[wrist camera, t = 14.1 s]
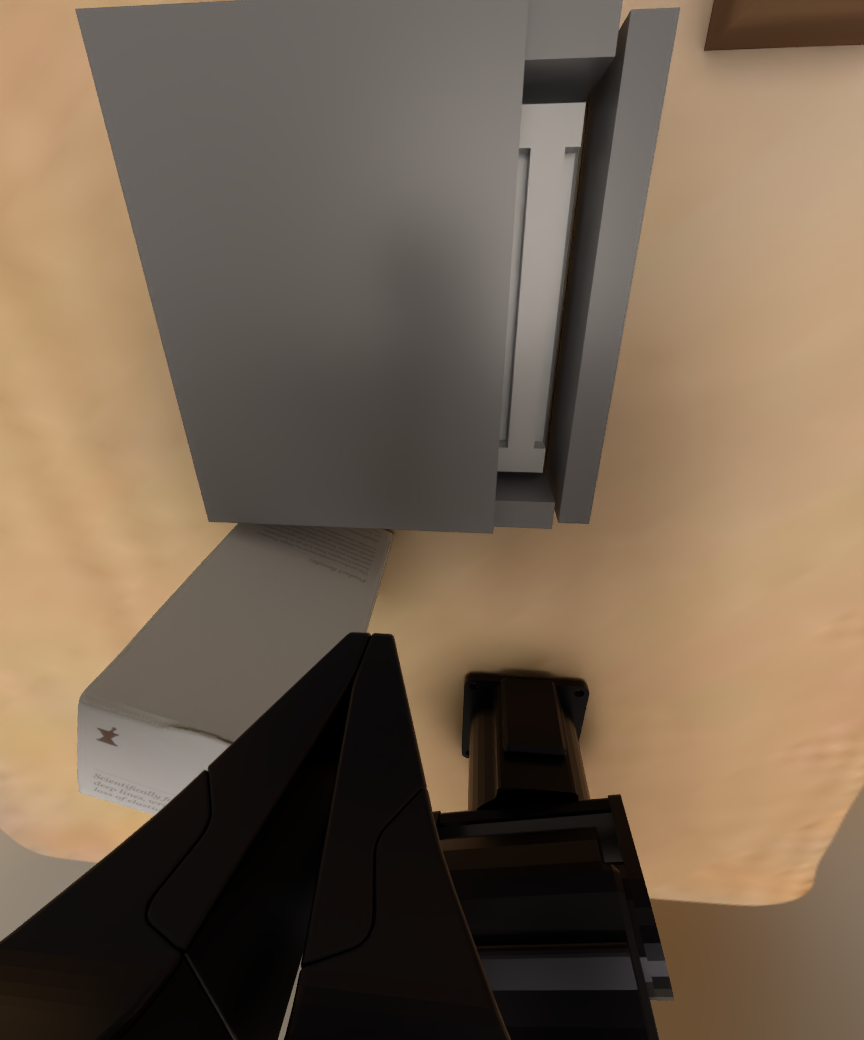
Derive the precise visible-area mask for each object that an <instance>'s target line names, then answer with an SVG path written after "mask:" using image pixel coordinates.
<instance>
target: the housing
mask: <svg viewBox="0 0 864 1040" xmlns="http://www.w3.org/2000/svg"><path fill="white" fill-rule="evenodd" d="M622 1H623V0H237V1H218V2H199V3H179V4H160V5H141V6H122V7H103V8H83V9H75V10H76V14H77V18H78V22H79V25H80V29H81V33H82V37H83V41H84V45H85V48H86V52H87V56H88V60H89V64H90V68H91V71H92V75H93V79H94V83H95V87H96V91H97V95H98V98H99V102H100V106H101V110H102V114H103V118H104V121H105V125H106V129H107V133H108V137H109V141H110V144H111V148H112V152H113V156H114V160H115V164H116V167H117V171H118V175H119V179H120V183H121V187H122V190H123V194H124V198H125V202H126V206H127V210H128V214H129V217H130V221H131V225H132V229H133V233H134V237H135V240H136V244H137V248H138V252H139V256H140V260H141V263H142V267H143V271H144V275H145V279H146V283H147V286H148V290H149V294H150V298H151V302H152V306H153V310H154V313H155V317H156V321H157V325H158V329H159V333H160V336H161V340H162V344H163V348H164V352H165V356H166V359H167V363H168V367H169V371H170V375H171V379H172V382H173V386H174V390H175V394H176V398H177V402H178V405H179V409H180V413H181V417H182V421H183V425H184V429H185V432H186V436H187V440H188V444H189V448H190V452H191V455H192V459H193V463H194V467H195V471H196V475H197V478H198V482H199V486H200V490H201V494H202V498H203V501H204V505H205V509H206V513H207V517H208V521H209V522H229V523H252V524H276V525H300V526H324V527H348V528H371V529H395V530H419V531H443V532H467V533H490V534H493V528H494V526H495V527H519V528H544V529H552V522H553V514H554V507H555V501H554V498H553V494H552V491H551V488H550V485H549V482H548V479H547V475H546V472H545V469H544V466H543V473H537V472H505V471H497V468H498V453H499V438H500V423H501V409H502V394H503V379H504V364H505V349H506V334H507V319H508V304H509V289H510V274H511V260H512V245H513V230H514V215H515V200H516V185H517V170H518V155H519V140H520V125H521V111H522V104H553V103H585V102H586V101H587V99H588V98H589V96H590V95H591V93H592V92H593V90H594V89H595V87H596V85H597V84H598V82H599V81H600V79H601V78H602V76H603V74H604V73H605V71H606V70H607V68H608V67H609V65H610V64H611V62H612V60H613V59H614V57H615V53H616V46H617V38H618V31H619V23H620V16H621V8H622ZM579 152H580V148H579V149H578V151H577V152H576V153H575V161H574V170H573V179H572V188H571V196H570V205H569V214H568V223H567V232H566V241H565V250H564V258H563V267H562V276H561V285H560V294H559V303H558V312H557V320H556V329H555V338H554V347H553V356H552V365H551V374H550V382H549V391H548V400H547V409H546V418H545V427H544V436H543V443H544V446H545V444H546V436H547V427H548V419H549V410H550V401H551V393H552V384H553V376H554V367H555V358H556V350H557V341H558V332H559V324H560V315H561V307H562V298H563V289H564V281H565V272H566V264H567V255H568V246H569V238H570V229H571V220H572V212H573V203H574V195H575V186H576V177H577V169H578V160H579Z"/></svg>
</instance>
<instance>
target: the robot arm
mask: <svg viewBox="0 0 864 1040" xmlns="http://www.w3.org/2000/svg"><path fill="white" fill-rule="evenodd" d="M472 683H476V684H472ZM577 690H580V691H577ZM588 697H589V690H588V686H587V684H586V683H584V682H582V681H574V680H559V679H544V678H529V677H514V676H499V675H484V674H470V675H467V676H466V677H465V681H464V706H463V730H462V755H463V756H464V757H466V758H469V788H468V811H460V812H449V813H441V812H440V811H435V812H432V807H431V803H430V798H429V794H428V791H427V786H426V781H425V776H424V772H423V767H422V763H421V758H420V753H419V749H418V744H417V740H416V735H415V731H414V726H413V721H412V717H411V712H410V708H409V703H408V699H407V694H406V689H405V685H404V680H403V676H402V671H401V667H400V662H399V657H398V653H397V648H396V644H395V639H394V636H393V635H392V634H380V633H374V634H373V635H372V636H371V634H369V633H363V632H350V633H348V634H347V635H346V636H345V637H344V638H343V639H342V640H341V641H340V642H338V643H337V644H336V645H335V646H334V647H333V648H332V649H331V650H330V651H329V652H328V653H327V654H326V655H325V656H324V657H323V658H322V659H321V660H319V661H318V662H317V663H316V664H315V665H314V666H313V667H312V668H311V669H310V670H309V671H308V672H307V673H306V674H305V675H304V676H303V677H302V678H300V679H299V680H298V681H297V682H296V683H295V684H294V685H293V686H292V687H291V688H290V689H289V690H288V691H287V692H286V693H285V694H284V695H283V696H282V697H280V698H279V699H278V700H277V701H276V702H275V703H274V704H273V705H272V706H271V707H270V708H269V709H268V710H267V711H266V712H265V713H264V714H263V715H261V716H260V717H259V718H258V719H257V720H256V721H255V722H254V723H253V724H252V725H251V726H250V727H249V728H248V729H247V730H246V731H245V732H244V733H242V734H241V735H240V736H239V737H238V738H237V739H236V740H235V741H234V742H233V743H232V744H231V745H230V746H229V747H228V748H227V749H226V750H225V751H223V752H222V753H221V754H220V755H219V756H218V757H217V758H216V759H215V760H214V761H213V762H212V763H211V764H210V765H209V766H208V771H207V770H203V771H202V772H201V773H200V774H199V775H198V776H197V777H196V778H195V779H194V780H193V781H192V782H191V783H189V784H188V785H187V786H186V787H185V788H184V789H183V790H182V791H181V792H180V793H179V794H178V795H176V796H175V797H174V798H173V799H172V800H171V801H170V802H169V803H168V804H167V805H165V806H164V807H163V808H162V809H161V810H160V811H159V812H158V813H157V814H156V815H154V816H153V817H152V818H151V819H150V820H149V821H148V822H146V823H145V824H144V825H143V826H142V827H140V828H139V829H138V830H137V831H136V832H134V833H133V834H132V835H131V836H130V837H129V838H127V839H126V840H125V841H124V842H123V843H121V844H120V845H119V846H118V847H117V848H115V849H114V850H113V851H112V852H111V853H109V854H108V855H107V856H106V857H104V858H103V859H102V860H101V861H100V862H98V863H97V864H96V865H95V866H93V867H92V868H91V869H90V870H89V871H87V872H86V873H85V874H84V875H82V876H81V877H80V878H79V879H77V880H76V881H75V882H74V883H72V884H71V885H70V886H69V887H68V888H66V889H65V890H64V891H63V892H61V893H60V894H59V895H58V896H56V897H55V898H54V899H53V900H52V901H50V902H49V903H48V904H47V905H45V906H44V907H43V908H42V909H40V910H39V911H38V912H37V913H35V914H34V915H33V916H32V917H31V918H30V919H28V920H27V921H26V922H24V923H23V924H22V925H21V926H19V927H18V928H17V929H16V930H15V931H13V932H12V933H11V934H9V935H8V936H7V937H5V938H4V939H3V940H2V941H0V1040H278V1037H279V1033H280V1030H281V1026H282V1023H283V1020H284V1016H285V1013H286V1009H287V1006H288V1002H289V999H290V996H291V992H292V989H293V985H294V982H295V978H296V975H297V971H298V968H299V965H300V961H301V958H302V961H301V968H302V969H301V971H300V973H299V978H298V983H297V988H296V994H295V998H294V1002H293V1007H292V1011H291V1015H290V1019H289V1023H288V1027H287V1031H286V1035H285V1038H284V1040H659V1036H658V1032H657V1028H656V1023H655V1019H654V1015H653V1010H652V1006H651V1001H650V1000H657V1001H662V1000H663V1001H664V1000H665V1001H666V1000H667V1001H669V1000H670V1001H674V997H673V992H672V987H671V983H670V979H669V975H668V971H667V966H666V962H665V958H664V954H663V950H662V946H661V942H660V938H659V934H658V930H657V927H656V923H655V919H654V915H653V911H652V907H651V903H650V900H649V896H648V892H647V888H646V885H645V881H644V877H643V874H642V870H641V867H640V863H639V860H638V856H637V852H636V849H635V845H634V842H633V838H632V835H631V831H630V827H629V824H628V820H627V817H626V813H625V809H624V806H623V802H622V799H621V795H620V794H619V795H608V798H602V799H591V800H590V796H589V791H588V786H587V782H586V777H585V772H584V767H583V762H582V757H581V752H580V747H579V743H578V742H579V738H580V733H581V729H582V724H583V720H584V715H585V711H586V706H587V702H588ZM302 955H303V956H302Z"/></svg>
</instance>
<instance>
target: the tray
mask: <svg viewBox="0 0 864 1040" xmlns="http://www.w3.org/2000/svg"><path fill="white" fill-rule="evenodd" d="M679 11H680V8H658V9H637V10H631V11H630V13H629V14H628V16H627V18H626V19H625V21H624V23H623V25H622V26H621V28H620V30H619V31H618V38H617V46H616V53H615V57H614V59H613V60H612V62H611V64H610V65H609V67H608V68H607V70H606V71H605V73H604V74H603V76H602V78H601V79H600V81H599V82H598V84H597V85H596V87H595V89H594V90H593V92H592V93H591V95H590V98H589V106H588V114H587V123H586V131H585V140H584V148H583V157H582V165H581V173H580V182H579V190H578V199H577V207H576V215H575V224H574V232H573V241H572V249H571V257H570V266H569V274H568V283H567V291H566V299H565V308H564V316H563V325H562V333H561V341H560V350H559V358H558V367H557V375H556V383H555V392H554V400H553V409H552V417H551V425H550V434H549V442H548V451H547V459H546V467H545V472H546V475H547V479H548V482H549V485H550V488H551V491H552V494H553V498H554V501H555V507H554V509H555V513H556V516H557V519H558V523H578V524H589V521H590V515H591V509H592V504H593V498H594V492H595V487H596V481H597V475H598V470H599V464H600V458H601V453H602V447H603V441H604V436H605V430H606V424H607V419H608V413H609V407H610V402H611V396H612V390H613V385H614V379H615V373H616V368H617V362H618V356H619V351H620V345H621V339H622V334H623V328H624V322H625V317H626V311H627V305H628V300H629V294H630V288H631V283H632V277H633V272H634V266H635V260H636V255H637V249H638V243H639V238H640V232H641V226H642V221H643V215H644V209H645V204H646V198H647V192H648V187H649V181H650V175H651V170H652V164H653V158H654V153H655V147H656V141H657V136H658V130H659V124H660V119H661V113H662V107H663V102H664V96H665V90H666V85H667V79H668V73H669V68H670V62H671V56H672V51H673V45H674V39H675V34H676V28H677V22H678V17H679ZM585 106H586V102H585V103H553V104H522V111H521V125H520V140H519V155H518V170H517V185H516V200H515V215H514V230H513V245H512V260H511V274H510V289H509V304H508V319H507V334H506V349H505V364H504V379H503V394H502V409H501V423H500V438H499V453H498V468H497V471H505V472H537V473H543V466H544V457H545V446H544V443H543V436H544V427H545V418H546V409H547V400H548V391H549V382H550V374H551V365H552V356H553V347H554V338H555V329H556V320H557V312H558V303H559V294H560V285H561V276H562V267H563V258H564V250H565V241H566V232H567V223H568V214H569V205H570V196H571V188H572V179H573V170H574V161H575V153H576V152H577V151H578V149H579V148H580V147H581V140H582V131H583V123H584V114H585Z"/></svg>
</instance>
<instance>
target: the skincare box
mask: <svg viewBox="0 0 864 1040" xmlns="http://www.w3.org/2000/svg"><path fill="white" fill-rule="evenodd" d="M392 540H393V534H392V533H391V532H389V531H386V530H384V529H371V528H348V527H324V526H300V525H276V524H252V523H238V524H237V525H236V526H235V527H234V528H233V529H232V531H231V532H230V533H229V534H228V535H227V536H226V537H225V538H224V539H223V540H222V541H221V543H220V544H219V545H218V546H217V547H216V548H215V549H214V550H213V551H212V552H211V553H210V555H209V556H208V557H207V558H206V559H205V560H204V561H203V562H202V563H201V564H200V565H199V566H198V567H197V568H196V570H195V571H194V572H193V573H192V574H191V575H190V576H189V577H188V578H187V579H186V580H185V582H184V583H183V584H182V585H181V586H180V587H179V588H178V589H177V590H176V592H175V593H174V594H173V595H172V596H171V597H170V598H169V599H168V600H167V601H166V602H165V603H164V605H163V606H162V607H161V608H160V609H159V610H158V611H157V612H156V613H155V614H154V615H153V617H152V618H151V619H150V620H149V621H148V622H147V623H146V624H145V626H144V627H143V628H142V629H141V630H140V631H139V632H138V633H137V635H136V636H135V637H134V638H133V639H132V640H131V642H130V643H129V644H128V645H127V646H126V647H125V648H124V650H123V651H122V652H121V653H120V654H119V655H118V656H117V657H116V658H115V659H114V660H113V661H112V662H111V663H110V664H109V665H108V666H107V668H106V669H105V670H104V671H103V672H102V673H101V674H100V675H99V676H98V677H97V678H96V679H95V680H94V681H93V682H92V683H91V684H90V685H89V686H88V687H87V688H86V689H85V691H84V692H83V693H82V695H81V696H80V699H79V704H78V728H77V733H78V745H77V754H78V761H77V766H78V768H77V775H78V784H79V792H80V793H82V794H86V795H89V796H92V797H95V798H99V799H103V800H106V801H110V802H113V803H117V804H120V805H123V806H126V807H130V808H133V809H136V810H140V811H143V812H146V813H150V814H153V815H156V814H157V813H158V812H159V811H160V810H161V809H162V808H163V807H164V806H165V805H167V804H168V803H169V802H170V801H171V800H172V799H173V798H174V797H175V796H176V795H178V794H179V793H180V792H181V791H182V790H183V789H184V788H185V787H186V786H187V785H188V784H189V783H191V782H192V781H193V780H194V779H195V778H196V777H197V776H198V775H199V774H200V773H201V772H202V771H203V770H207V771H208V766H209V765H210V764H211V763H212V762H213V761H214V760H215V759H216V758H217V757H218V756H219V755H220V754H221V753H222V752H223V751H225V750H226V749H227V748H228V747H229V746H230V745H231V744H232V743H233V742H234V741H235V740H236V739H237V738H238V737H239V736H240V735H241V734H242V733H244V732H245V731H246V730H247V729H248V728H249V727H250V726H251V725H252V724H253V723H254V722H255V721H256V720H257V719H258V718H259V717H260V716H261V715H263V714H264V713H265V712H266V711H267V710H268V709H269V708H270V707H271V706H272V705H273V704H274V703H275V702H276V701H277V700H278V699H279V698H280V697H282V696H283V695H284V694H285V693H286V692H287V691H288V690H289V689H290V688H291V687H292V686H293V685H294V684H295V683H296V682H297V681H298V680H299V679H300V678H302V677H303V676H304V675H305V674H306V673H307V672H308V671H309V670H310V669H311V668H312V667H313V666H314V665H315V664H316V663H317V662H318V661H319V660H321V659H322V658H323V657H324V656H325V655H326V654H327V653H328V652H329V651H330V650H331V649H332V648H333V647H334V646H335V645H336V644H337V643H338V642H340V641H341V640H342V639H343V638H344V637H345V636H346V635H347V634H348V633H350V632H363V633H367V629H368V625H369V622H370V618H371V615H372V611H373V608H374V604H375V601H376V597H377V593H378V590H379V586H380V582H381V578H382V575H383V571H384V568H385V564H386V561H387V557H388V553H389V550H390V547H391V543H392Z"/></svg>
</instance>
